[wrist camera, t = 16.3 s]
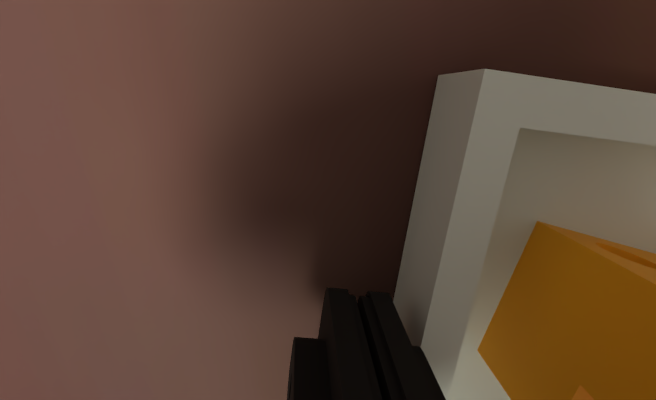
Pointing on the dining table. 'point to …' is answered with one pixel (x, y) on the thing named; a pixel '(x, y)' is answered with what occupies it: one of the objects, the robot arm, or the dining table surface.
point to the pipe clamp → (575, 321)
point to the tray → (514, 201)
